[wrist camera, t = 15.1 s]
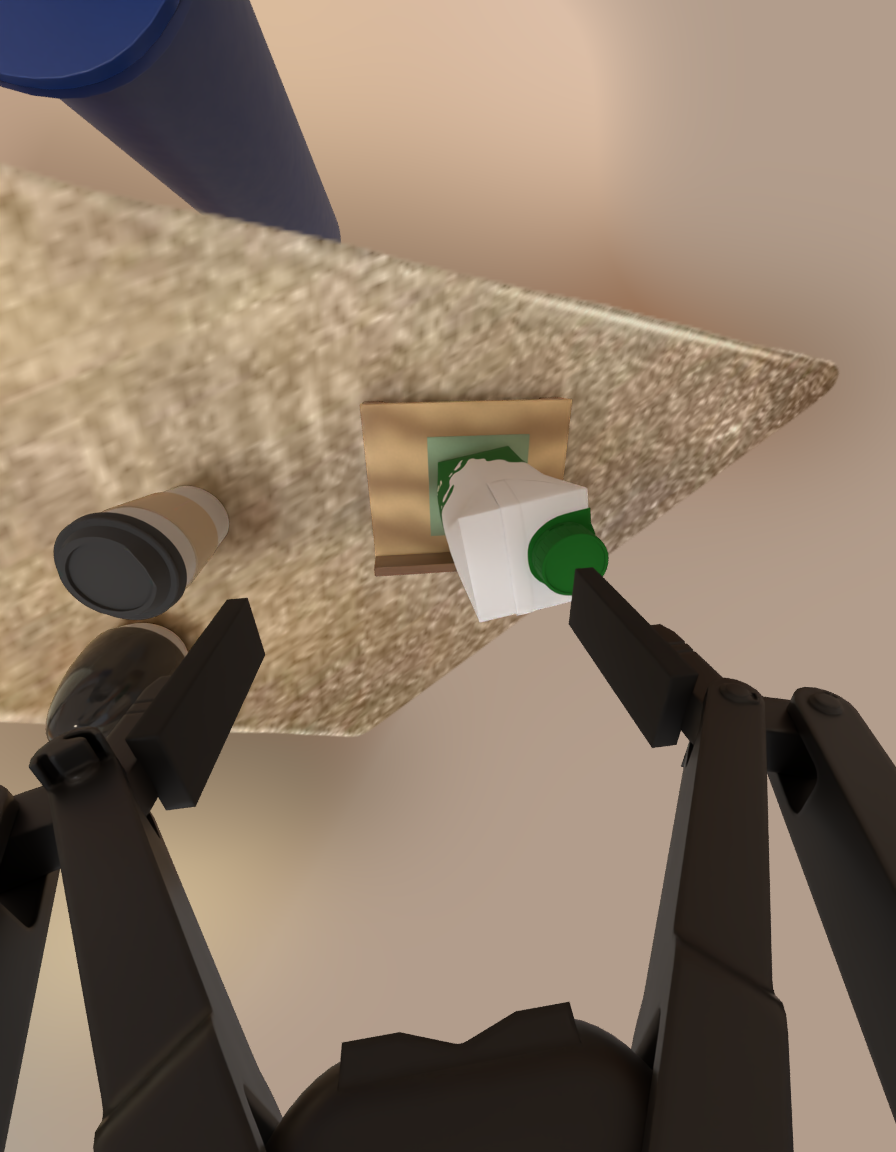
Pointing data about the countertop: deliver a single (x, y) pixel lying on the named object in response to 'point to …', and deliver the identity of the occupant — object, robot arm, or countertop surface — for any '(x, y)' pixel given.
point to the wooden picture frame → (438, 433)
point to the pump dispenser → (112, 677)
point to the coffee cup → (140, 551)
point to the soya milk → (515, 532)
